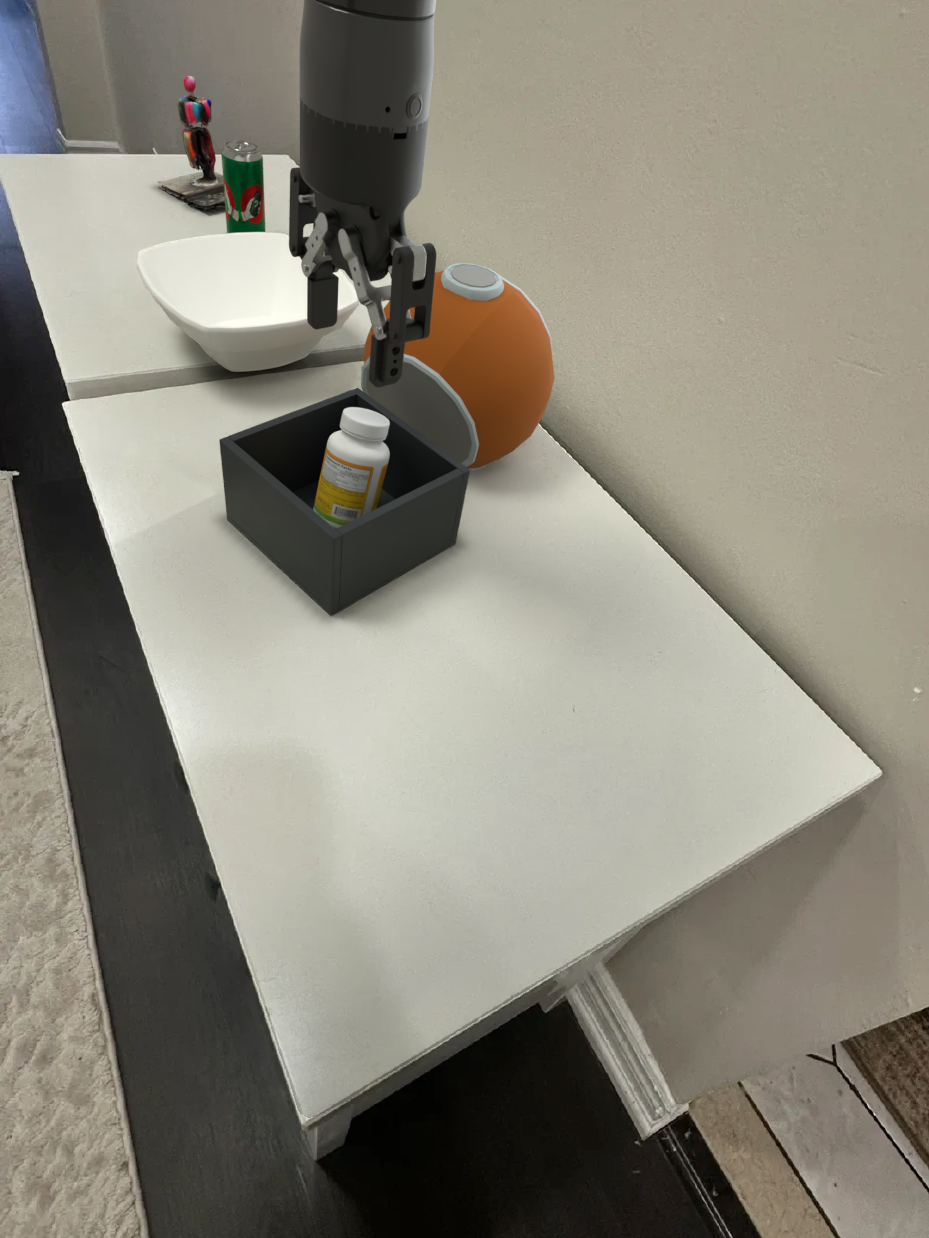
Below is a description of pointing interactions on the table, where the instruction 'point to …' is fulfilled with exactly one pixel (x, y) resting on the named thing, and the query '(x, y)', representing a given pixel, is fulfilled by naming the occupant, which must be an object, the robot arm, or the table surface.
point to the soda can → (243, 187)
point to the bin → (362, 549)
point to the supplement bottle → (353, 467)
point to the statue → (197, 154)
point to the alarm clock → (473, 368)
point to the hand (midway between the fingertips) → (352, 353)
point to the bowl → (239, 297)
